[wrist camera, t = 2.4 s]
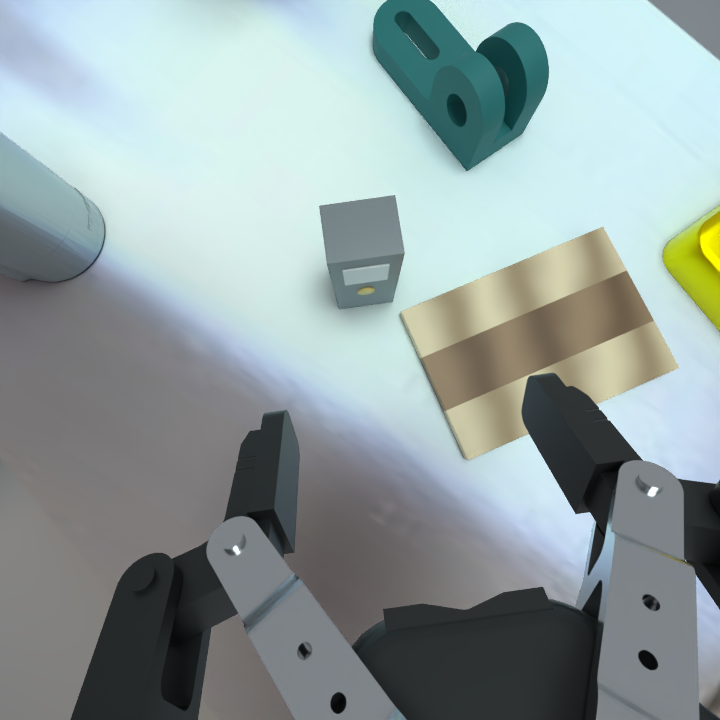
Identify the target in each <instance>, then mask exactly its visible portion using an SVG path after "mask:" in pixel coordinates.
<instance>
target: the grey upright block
mask: <svg viewBox="0 0 720 720" xmlns="http://www.w3.org/2000/svg"><path fill="white" fill-rule="evenodd" d="M319 208H320V215H321V223H322V230H323V237H324V245H325V252H326V260H327V266H328V269H329V273H330V277H331V280H332V284H333V288H334V292H335V295H336V299H337V303H338V306H339V309H344V308H351V307H358V306H365V305H372V304H379V303H387V302H393V298H394V294H395V290H396V286H397V282H398V278H399V274H400V270H401V266H402V262H403V257H404V247H403V240H402V234H401V228H400V222H399V216H398V210H397V204H396V198H395V195H393V196H386V197H379V198H372V199H364V200H357V201H350V202H343V203H336V204H329V205H322V206H319Z"/></svg>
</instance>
